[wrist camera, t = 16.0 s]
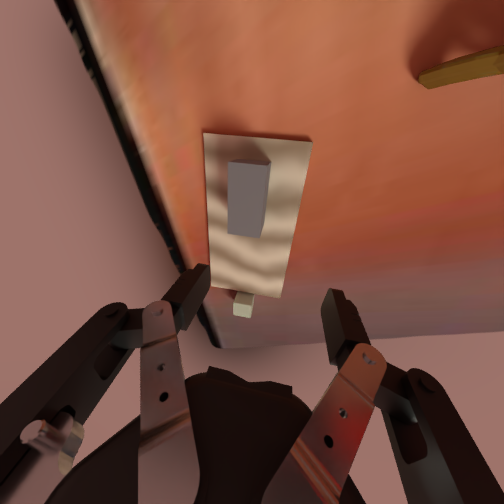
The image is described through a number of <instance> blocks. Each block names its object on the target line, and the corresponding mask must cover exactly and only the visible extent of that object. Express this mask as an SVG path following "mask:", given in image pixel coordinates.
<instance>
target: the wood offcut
mask: <svg viewBox="0 0 504 504" xmlns="http://www.w3.org/2000/svg"><path fill="white" fill-rule="evenodd" d="M253 303H254V294H253V293H248V292H242V291H237V294H236V297H235V300H234V306H233V315H237V316H242V317H247V318H251V313H252V309H253Z"/></svg>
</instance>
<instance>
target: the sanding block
mask: <svg viewBox="0 0 504 504" xmlns="http://www.w3.org/2000/svg"><path fill="white" fill-rule="evenodd" d="M270 169H271V162H269V161H259V160H249V159H236V160H232V161H229V162H228V224H227V234H233V235H239V236H246V237H253V238H260V235H261V232H262V229H263V226H264V221H265V213H266V204H267V195H268V187H269V178H270Z"/></svg>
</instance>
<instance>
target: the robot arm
mask: <svg viewBox="0 0 504 504" xmlns="http://www.w3.org/2000/svg"><path fill="white" fill-rule="evenodd" d="M209 288H210V266H209V265H206V264H200V263H198V264H197V265H196V266H195V268H194V269H193V270H192V269H188V270H187V271H185V272H184V273H182V274H181V276H180V277H179V279H177V281H176V282H175V284H173V285H172V287H171V288H170V289H169V290H168V292H167V293H166V294H165V295H164V296H163V298H162V299H161V300H159V301H155V302H152V303H150V304H149V305H147V306H146V307H145V308H141V309H128V308H127V306H126V304H124V303H121V302H116V303H111V304H108V305H106V306H105V307H103V308H101V309H100V310H99V311H98V312H97V313H95V314H94V315H93V316H92V317H91V318H90V319H89V320H88V321H87V322H86V323H85V324H84V325H83V326H82V327H81V328H80V329H79V330H78V331H77V332H76V333H75V334H74V335H72V336H71V337H70V338H69V339H68V340H67V341H66V342H65V343H64V344H63V345H62V346H61V347H60V348H59V349H58V350H57V351H56V352H55V353H53V354H52V356H51V357H49V358H48V359H47V360H46V361H45V362H44V363H43V364H42V365H41V366H40V367H39V368H38V369H37V370H36V371H35V372H34V373H33V374H32V375H30V376H29V377H28V378H27V379H26V380H25V381H24V382H23V383H22V384H21V385H20V386H19V387H18V388H17V389H16V390H15V391H14V392H13V393H11V394H10V395H9V396H8V398H6V399H5V400H4V401H3V402H2V403H1V404H0V504H366V503H365V501H364V500H363V498H362V496H361V494H360V493H359V491H358V489H357V487H356V486H355V484H354V482H353V481H352V479H351V477H350V475H349V474H348V473H349V471H350V468H351V466H352V463H353V461H354V458H355V456H356V453H357V451H358V448H359V445H360V443H361V440H362V438H363V435H364V433H365V431H366V428H367V425H368V423H369V420H370V418H371V415H372V413H373V410H374V407H375V406H376V407H378V408H380V409H381V412H382V415H383V418H384V422H385V426H386V429H387V432H388V436H389V439H390V442H391V446H392V449H393V453H394V456H395V460H396V463H397V467H398V470H399V473H400V477H401V481H402V484H403V487H404V491H405V494H406V498H407V501H408V504H504V493H503V491H502V489H501V487H500V485H499V484H498V482H497V480H496V478H495V477H494V475H493V473H492V472H491V470H490V468H489V466H488V465H487V463H486V461H485V459H484V458H483V456H482V454H481V452H480V451H479V449H478V447H477V446H476V444H475V442H474V440H473V439H472V437H471V435H470V433H469V431H468V430H467V428H466V426H465V424H464V423H463V421H462V419H461V418H460V416H459V414H458V412H457V410H456V409H455V407H454V405H453V404H452V402H451V400H450V398H449V397H448V395H447V393H446V392H445V390H444V388H443V387H442V385H441V384H440V383H439V382H438V381H437V380H436V379H435V378H434V377H432V376H431V375H430V374H428V373H427V372H425V371H423V370H420V369H417V368H412V369H410V370H409V371H407V372H405V371H403V370H402V369H399V368H397V367H395V366H393V365H391V364H389V363H387V362H386V360H385V358H384V357H383V355H382V354H381V353H380V352H379V351H378V350H377V349H376V348H374V347H373V346H371V344H370V341H369V338H368V336H367V333H366V331H365V328H364V326H363V323H362V322H361V318H360V316H359V313H358V311H357V308H356V306H355V305H354V304H353V303H352V302H351V301H350V300H346V298H345V295H344V292H343V291H342V290H337V289H332V288H329V289H328V292H327V294H326V296H325V299H324V301H323V303H322V306H321V317H322V323H323V328H324V334H325V339H326V344H327V351H328V356H329V362H330V364H331V365H335V366H337V367H338V373H337V374H336V376H335V377H334V379H333V380H332V382H331V383H330V385H329V387H328V388H327V390H326V391H325V393H324V395H323V396H322V398H321V399H320V401H319V402H318V404H317V405H316V407H315V408H314V410H313V411H311V410H310V409H309V407H308V406H307V405H306V404H305V403H304V402H303V401H302V400H301V399H299V398H298V397H297V396H295V395H293V394H292V386H288V385H284V384H280V383H276V382H272V381H266V382H247V381H245V380H244V379H242V378H240V377H238V376H237V375H235V374H233V373H232V372H230V371H227V370H223V369H219V368H215V367H211V366H209V368H208V371H207V372H205V373H200V374H196V375H193V376H191V377H189V378H187V379H185V376H184V371H183V366H182V360H181V355H180V349H179V344H178V339H177V334H178V332H179V331H180V329H181V330H185V331H186V330H187V329H188V327H189V325H190V323H191V321H192V319H193V318H194V316H195V314H196V312H197V310H198V309H199V307H200V305H201V303H202V301H203V300H204V298H205V296H206V294H207V292H208V290H209ZM135 348H140V395H141V396H140V405H141V406H140V411H141V412H140V413H141V414H140V415H139V416H137V417H136V418H135V419H134V420H132V421H131V422H130V423H128V424H127V425H126V426H125V427H123V428H122V429H121V430H120V431H118V432H117V433H116V434H114V435H113V436H112V437H111V438H109V439H108V440H107V441H106V442H104V443H103V444H102V445H101V446H99V447H98V448H97V449H95V450H94V451H93V452H92V453H90V454H89V455H88V456H87V457H85V458H84V459H83V460H82V461H80V462H79V463H78V464H77V465H76V466H74V467H73V468H72V465H73V461H74V458H75V456H76V454H77V452H78V449H79V448H80V446H81V444H82V441H83V438H84V428H83V424H84V423H85V421H86V420H87V418H88V417H89V415H90V414H91V413H92V411H93V409H94V408H95V407H96V405H97V404H98V402H99V401H100V399H101V398H102V396H103V395H104V393H105V392H106V391H107V389H108V388H109V386H110V385H111V383H112V382H113V380H114V379H115V377H116V376H117V374H118V373H119V371H120V370H121V369H122V367H123V366H124V364H125V363H126V361H127V360H128V358H129V357H130V355H131V354H132V352H133V351H134V350H135Z"/></svg>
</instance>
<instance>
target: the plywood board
mask: <svg viewBox="0 0 504 504" xmlns="http://www.w3.org/2000/svg"><path fill="white" fill-rule="evenodd" d="M203 136H204V155H205V174H206V193H207V212H208V231H209V249H210V268H211V286H215V287H220V288H226V289H231V290H237V291H242V292H248V293H253V294H259V295H264V296H270V297H275V298H280V296H281V291H282V286H283V282H284V277H285V272H286V268H287V263H288V258H289V254H290V249H291V244H292V239H293V235H294V230H295V225H296V221H297V216H298V211H299V207H300V202H301V197H302V192H303V188H304V183H305V178H306V174H307V169H308V164H309V160H310V155H311V150H312V145H313V142H304V141H292V140H280V139H269V138H257V137H245V136H233V135H222V134H210V133H203ZM236 159H249V160H259V161H269V162H271V169H270V178H269V187H268V195H267V204H266V213H265V221H264V226H263V229H262V232H261V235H260V238H253V237H246V236H239V235H233V234H227V224H228V162H229V161H232V160H236Z"/></svg>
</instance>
